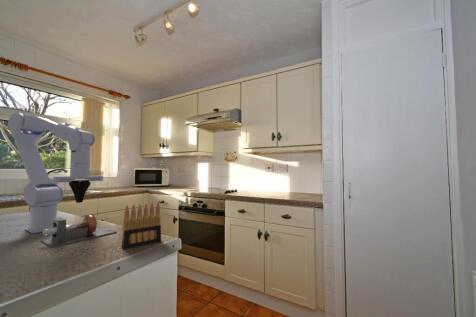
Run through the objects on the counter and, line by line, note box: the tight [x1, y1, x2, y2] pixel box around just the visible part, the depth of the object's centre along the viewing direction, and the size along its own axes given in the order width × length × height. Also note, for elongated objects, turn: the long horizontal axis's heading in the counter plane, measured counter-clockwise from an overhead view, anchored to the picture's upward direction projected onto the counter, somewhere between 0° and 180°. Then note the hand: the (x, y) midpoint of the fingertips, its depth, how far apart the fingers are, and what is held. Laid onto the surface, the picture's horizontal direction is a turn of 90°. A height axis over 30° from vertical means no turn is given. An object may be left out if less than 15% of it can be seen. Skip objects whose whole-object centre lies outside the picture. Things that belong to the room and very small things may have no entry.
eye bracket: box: [40, 217, 118, 249], centre depth 73 cm, size 10×18×7 cm, turn 145°
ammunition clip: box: [121, 202, 162, 250], centre depth 66 cm, size 11×2×12 cm, turn 129°
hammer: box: [41, 214, 98, 236], centre depth 71 cm, size 6×14×6 cm, turn 145°
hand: (79, 202), depth 78 cm, fingers closed
